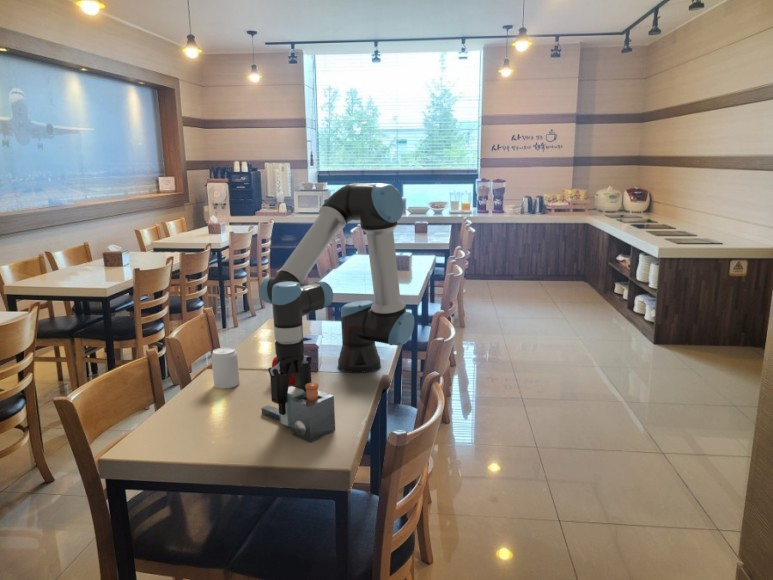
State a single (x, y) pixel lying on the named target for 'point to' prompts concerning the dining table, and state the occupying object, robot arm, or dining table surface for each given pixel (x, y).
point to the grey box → (313, 416)
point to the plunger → (312, 391)
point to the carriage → (292, 394)
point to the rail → (271, 412)
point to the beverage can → (225, 367)
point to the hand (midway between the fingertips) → (293, 420)
